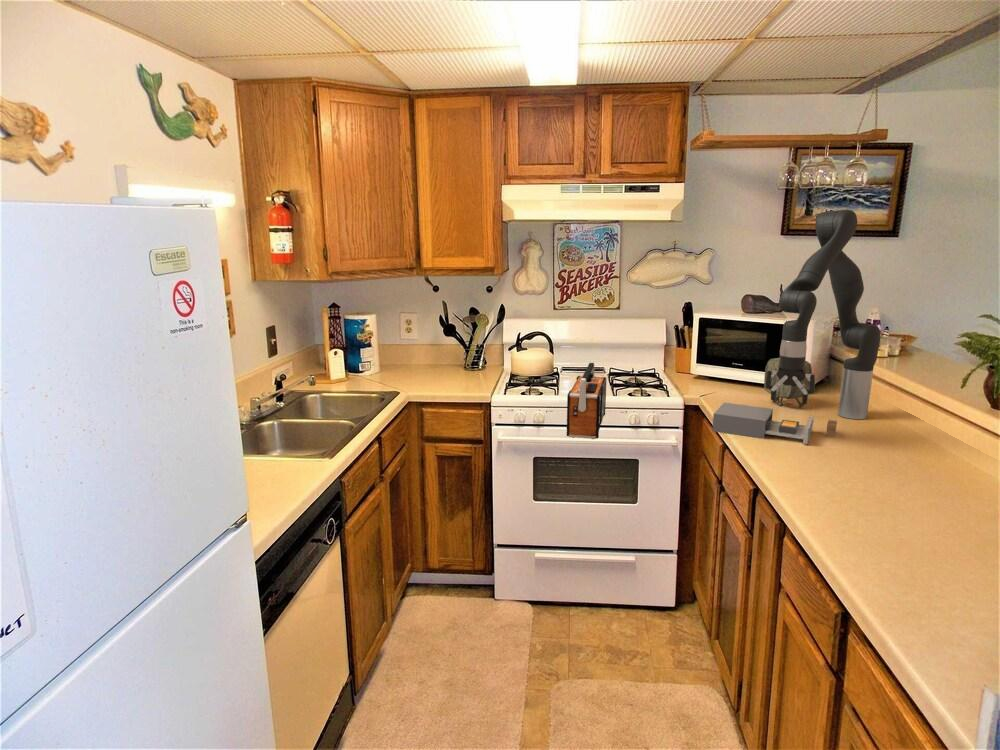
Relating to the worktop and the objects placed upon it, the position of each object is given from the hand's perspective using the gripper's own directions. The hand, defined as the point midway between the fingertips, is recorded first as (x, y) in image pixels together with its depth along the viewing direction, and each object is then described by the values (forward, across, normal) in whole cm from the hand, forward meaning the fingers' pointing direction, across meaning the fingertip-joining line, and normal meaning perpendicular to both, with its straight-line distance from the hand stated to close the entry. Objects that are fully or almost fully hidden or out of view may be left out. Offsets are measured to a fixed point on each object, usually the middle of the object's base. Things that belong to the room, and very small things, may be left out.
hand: (788, 403), depth 207 cm
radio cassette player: (+10, +59, +26) cm, 65 cm away
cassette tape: (+9, -1, 0) cm, 9 cm away
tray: (+10, +1, 0) cm, 10 cm away
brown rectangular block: (+11, -13, -8) cm, 18 cm away
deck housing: (+10, +13, 0) cm, 17 cm away
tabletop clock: (+11, +5, -38) cm, 40 cm away
